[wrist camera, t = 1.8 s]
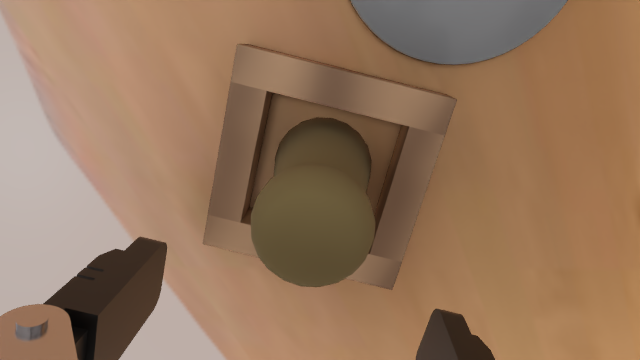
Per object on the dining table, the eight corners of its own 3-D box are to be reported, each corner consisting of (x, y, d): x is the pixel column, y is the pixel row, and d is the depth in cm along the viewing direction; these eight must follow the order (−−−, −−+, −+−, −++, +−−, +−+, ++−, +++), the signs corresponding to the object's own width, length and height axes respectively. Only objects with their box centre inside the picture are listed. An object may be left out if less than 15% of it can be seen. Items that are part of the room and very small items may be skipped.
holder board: (446, 94, 25) (457, 99, 23) (388, 270, 29) (392, 290, 26) (246, 43, 25) (237, 43, 22) (214, 228, 28) (202, 244, 26)
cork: (359, 218, 28) (369, 324, 17) (268, 200, 28) (222, 295, 17) (381, 128, 26) (407, 185, 15) (283, 108, 26) (242, 152, 15)
